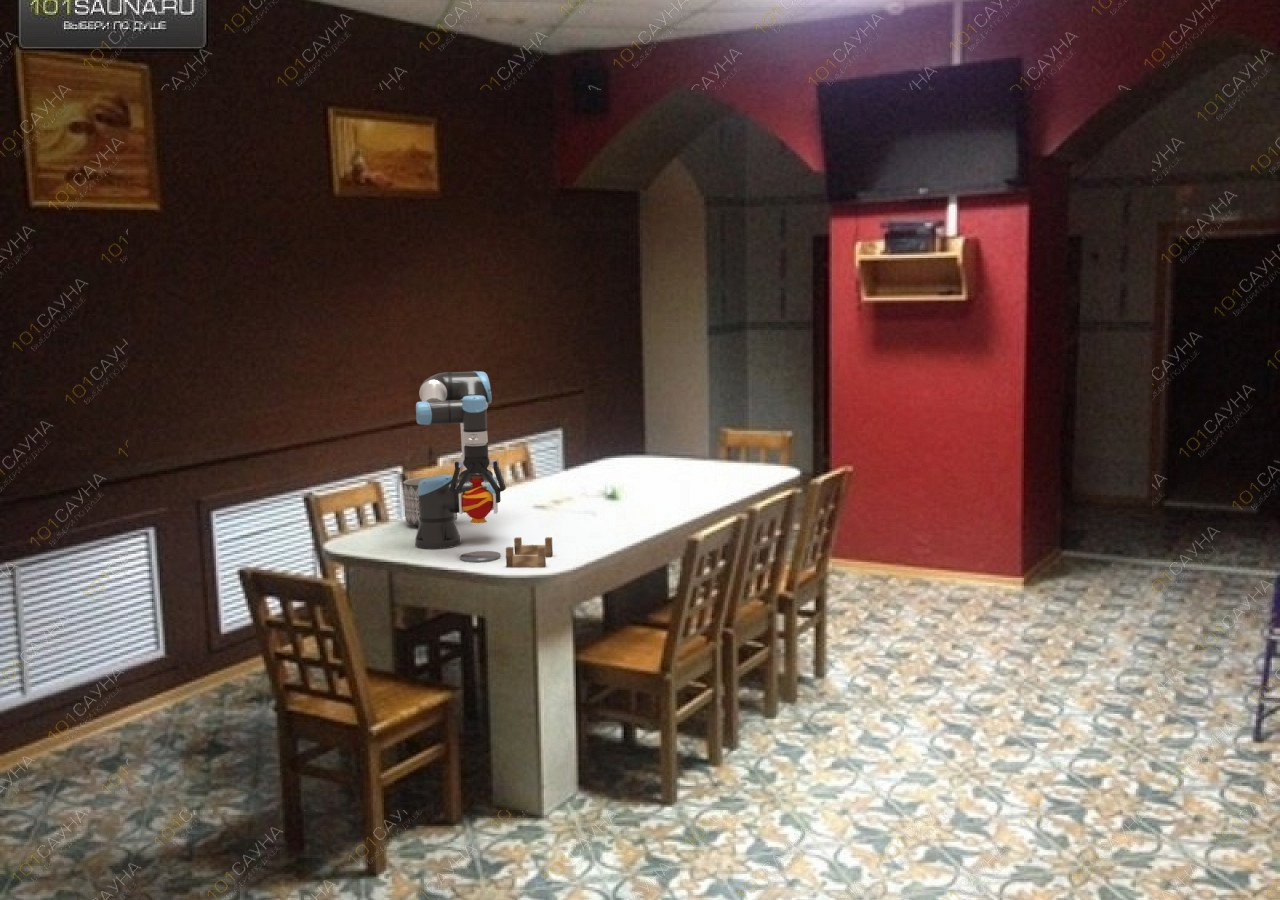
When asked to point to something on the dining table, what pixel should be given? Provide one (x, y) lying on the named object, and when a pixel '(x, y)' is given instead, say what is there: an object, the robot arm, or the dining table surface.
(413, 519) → the planter
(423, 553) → the dining table surface
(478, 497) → the potion bottle
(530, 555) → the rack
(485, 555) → the coaster
